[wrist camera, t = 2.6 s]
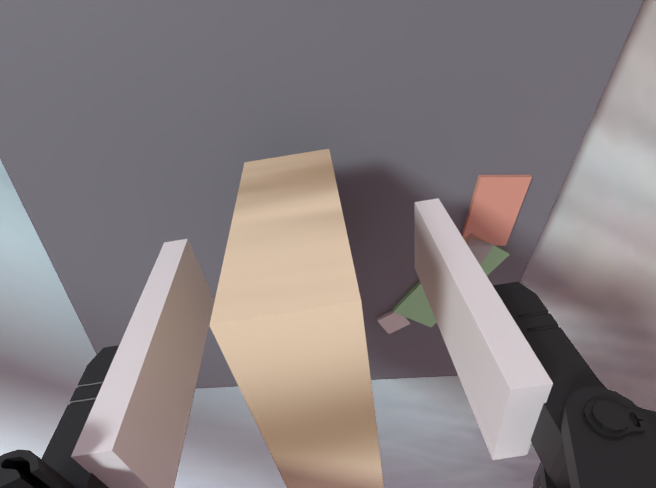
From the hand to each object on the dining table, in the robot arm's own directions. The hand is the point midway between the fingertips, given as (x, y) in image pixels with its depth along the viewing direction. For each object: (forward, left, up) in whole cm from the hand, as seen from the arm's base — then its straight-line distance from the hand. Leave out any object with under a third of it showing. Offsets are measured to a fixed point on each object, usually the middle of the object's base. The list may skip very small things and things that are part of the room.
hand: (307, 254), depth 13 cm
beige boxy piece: (0, -3, -2) cm, 4 cm away
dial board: (0, 0, -4) cm, 4 cm away
